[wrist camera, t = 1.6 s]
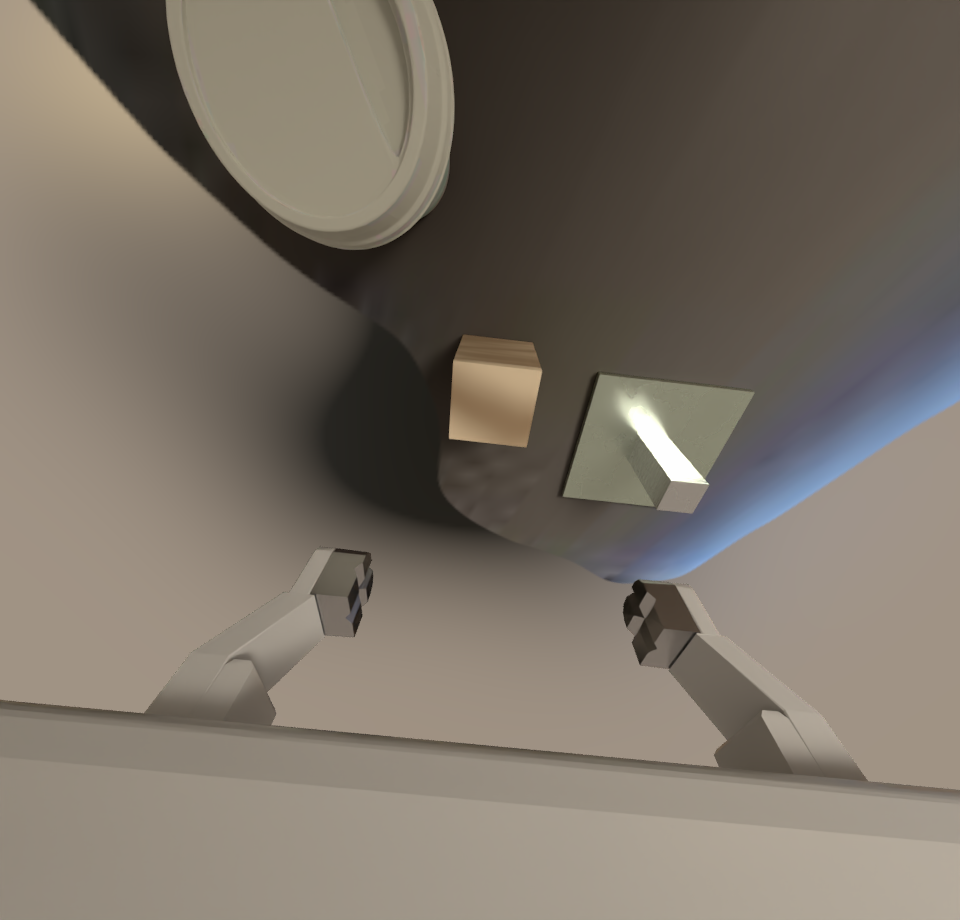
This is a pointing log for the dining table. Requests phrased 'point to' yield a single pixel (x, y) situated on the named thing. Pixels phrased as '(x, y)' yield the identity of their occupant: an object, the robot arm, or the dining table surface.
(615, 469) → the post
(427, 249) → the dining table surface
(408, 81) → the coffee cup
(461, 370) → the wood grain block
